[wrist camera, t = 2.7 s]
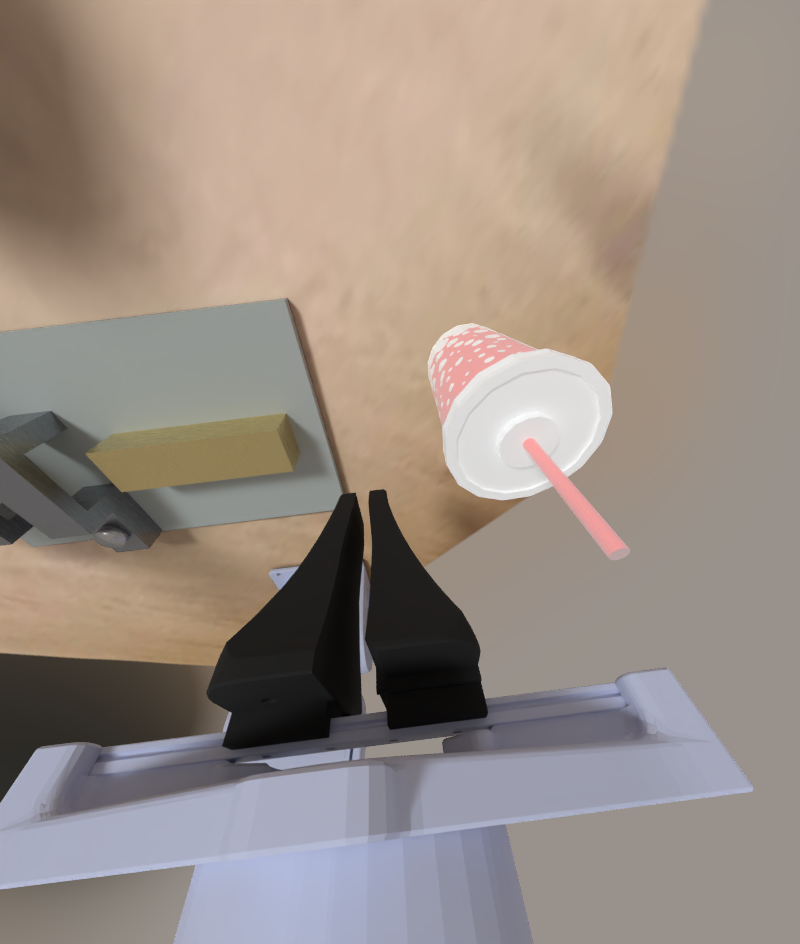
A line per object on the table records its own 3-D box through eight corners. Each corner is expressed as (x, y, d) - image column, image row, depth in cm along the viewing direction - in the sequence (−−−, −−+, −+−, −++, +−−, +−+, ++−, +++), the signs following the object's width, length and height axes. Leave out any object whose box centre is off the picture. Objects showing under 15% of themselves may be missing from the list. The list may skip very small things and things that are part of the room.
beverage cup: (398, 388, 18) (440, 598, 7) (449, 285, 15) (664, 383, 4) (475, 422, 20) (599, 628, 9) (534, 338, 17) (834, 501, 6)
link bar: (285, 412, 18) (276, 430, 16) (300, 451, 20) (293, 471, 18) (112, 433, 18) (84, 453, 16) (143, 471, 20) (121, 492, 18)
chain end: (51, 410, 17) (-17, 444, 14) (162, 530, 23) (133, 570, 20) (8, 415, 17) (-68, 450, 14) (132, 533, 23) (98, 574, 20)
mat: (287, 298, 15) (284, 300, 14) (347, 503, 24) (346, 508, 24) (-217, 357, 15) (-236, 361, 14) (40, 541, 24) (33, 547, 23)
